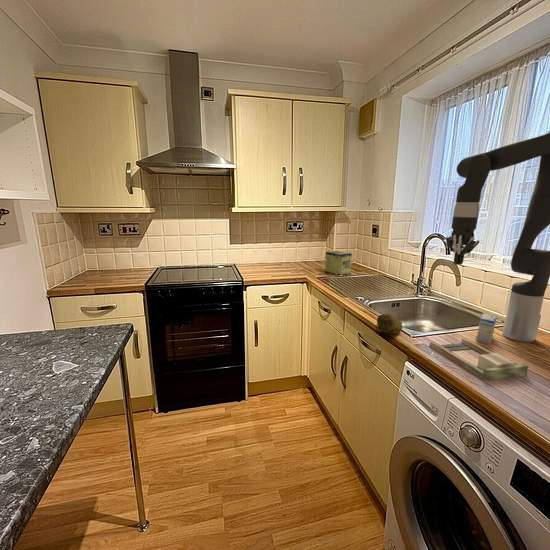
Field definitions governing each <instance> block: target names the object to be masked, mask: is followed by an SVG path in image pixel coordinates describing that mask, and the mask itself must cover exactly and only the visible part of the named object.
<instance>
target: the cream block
mask: <svg viewBox="0 0 550 550" xmlns="http://www.w3.org/2000/svg"><path fill="white" fill-rule="evenodd" d="M477 361H478V362H477V366H476V367H477V368H479V369H480V370H482V371H484V369H488V368H496V367H505V366H514V365H515V363H516V362H514V361H512V360H510V359H508V358H506V357H505V356H502V355H500V354H499V353H496V352H493V353H491V354H482V353H481V354H479V355H478V360H477Z"/></svg>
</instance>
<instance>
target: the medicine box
mask: <svg viewBox="0 0 550 550" xmlns="http://www.w3.org/2000/svg"><path fill="white" fill-rule="evenodd" d="M496 323H497V315H494V314H489V313H482V315H481V316H480V320H479V323H478V324H479V325H478V329H477V333H476V339H475V340H476V341H478V342H481V343H485V344H489V345H490V344H492V340H493V337H494V336H493V335H494V333H495V332H494V331H495V327H496Z"/></svg>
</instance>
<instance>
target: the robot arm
mask: <svg viewBox="0 0 550 550" xmlns="http://www.w3.org/2000/svg"><path fill="white" fill-rule="evenodd" d="M538 157H540V158H539V165H538V171H537V174H536V178H535V181H534V182H535V183H534V186H533V189H532V192H531V195H530V199H529V203H528V207H527V211H526V217H525V219H524V223H523V227H522V230H521V232H520V235H519V238H518V241H517V243H516V245H515V248H514V251H513V254H512V256H511V261H510V267H511V270H512V271H513V272H514V273H518V274H523V275H529V276H532V277H531V280H529V281H521V282H515V283H513V284H512V285H511V288H510V289H511V290H510V296H509V300H508V305H507V311H506V314H505V315H506V316H505V321H504V326H503V329H502V335H503V336H504V337H505V338H507V339H508V338H509V339H511V340H513V341H518V342H521V343H522V342H523V343H524V342H525V343H532V342H534V341H535V340H536V339H537V335H538V331H539V327H540V323H541V318H542V316H541V311H542V306H543V302H544V297H545V293H546V290H547V288H548V284H549V282H550V281H549V280H550V250H546V249H538V248H537V249H536V248H533V244H534V242H535V241H536V239H537V237H538V236H539V235H540V234H541V233H542V232H543V231H544V230H545V229H546V228H548V227H549V226H550V130H549V131H547V133H545V134H542V135H539V136H535V137H532V138H528V139H524V140H521V141H517V142H513V143H510V144H509V143H508V144H507V145H503V146H500V147H497V148H494V149H492V150H490V151H487V152H482V153H479V154H473V155H471V156H468V157H464V158H463V159H461V160H459V163H458V164H457V166H456V172H457V173H456V174H457V175H458V176H459V177H461V178H463V179H465V180H464V183H463V184H462V185H460V186H459V187H458V188H457V193H456V200H455V205H454V209H453V212H452V213H453V214H452V220H451V229H452V232H451V235H450V236H446V237H445V241H446V243H447V246H448V248H449V251H450V252H453V253H454V255H453V264H454V265H458V266H459V265H460V266H461V265H463V263H464V258H465V255H466V254H467V255H468V254H470V253H471V252H472V251H473V250H474V249H475V248H476V247H477V246H478V245H479V244H480V241H479V239H476V238H475V233H474V231H476V230H477V225H478V220H479V213H480V201H481V195H482V190H483V188H484V186H485V183H486V181H487V179H488V177H489V175H490V172H491V171H492V172H493V171H499V170H502V169H504V168H509V167H512V166H515V165H518V164H521V163H524V162H527V161H529V160H533V159H535V158H536V159H537V158H538Z"/></svg>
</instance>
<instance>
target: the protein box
mask: <svg viewBox="0 0 550 550" xmlns="http://www.w3.org/2000/svg"><path fill="white" fill-rule="evenodd" d="M352 254H353V253H350V252H344V251H338V250H333V251H332V250H331V251H326V252H325V260H324V261H325V265H324V273H325V272H327V273H326V274H328V273H332V274H337V275H347V274H350V275H351V269H352V268H351V267H352ZM332 274H331V275H332ZM347 276H348V275H347Z"/></svg>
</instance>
